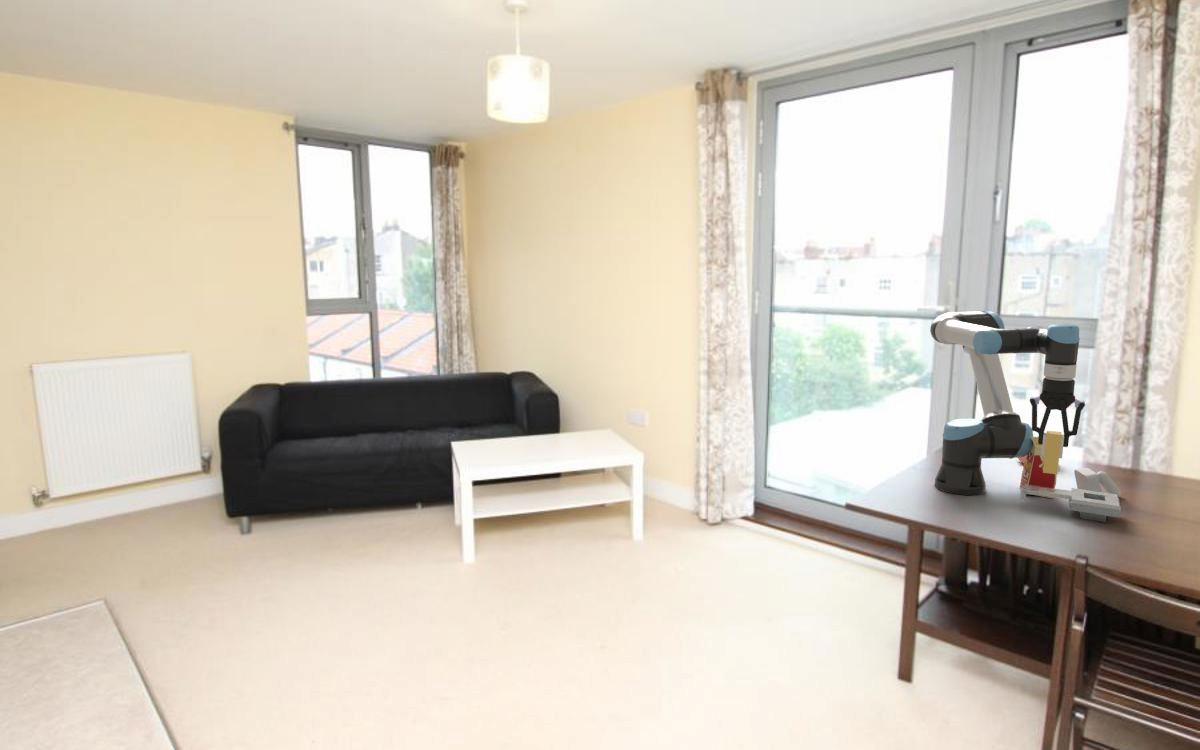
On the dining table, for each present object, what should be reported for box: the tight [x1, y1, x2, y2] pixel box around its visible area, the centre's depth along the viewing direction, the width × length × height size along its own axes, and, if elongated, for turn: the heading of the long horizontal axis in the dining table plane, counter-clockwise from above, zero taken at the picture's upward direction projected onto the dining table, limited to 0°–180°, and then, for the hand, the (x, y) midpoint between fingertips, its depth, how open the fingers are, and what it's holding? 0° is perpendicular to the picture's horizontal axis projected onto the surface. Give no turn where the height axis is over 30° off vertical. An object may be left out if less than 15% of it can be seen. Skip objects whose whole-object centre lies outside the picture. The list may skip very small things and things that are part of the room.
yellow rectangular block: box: [1043, 430, 1062, 475], centre depth 191 cm, size 4×4×12 cm
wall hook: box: [1073, 467, 1122, 498], centre depth 208 cm, size 8×10×10 cm
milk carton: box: [1019, 436, 1058, 499], centre depth 211 cm, size 9×9×20 cm
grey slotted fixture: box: [1020, 484, 1122, 523], centre depth 196 cm, size 24×12×6 cm, turn 54°
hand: (1051, 455), depth 191 cm, fingers closed on yellow rectangular block, 3 cm apart
